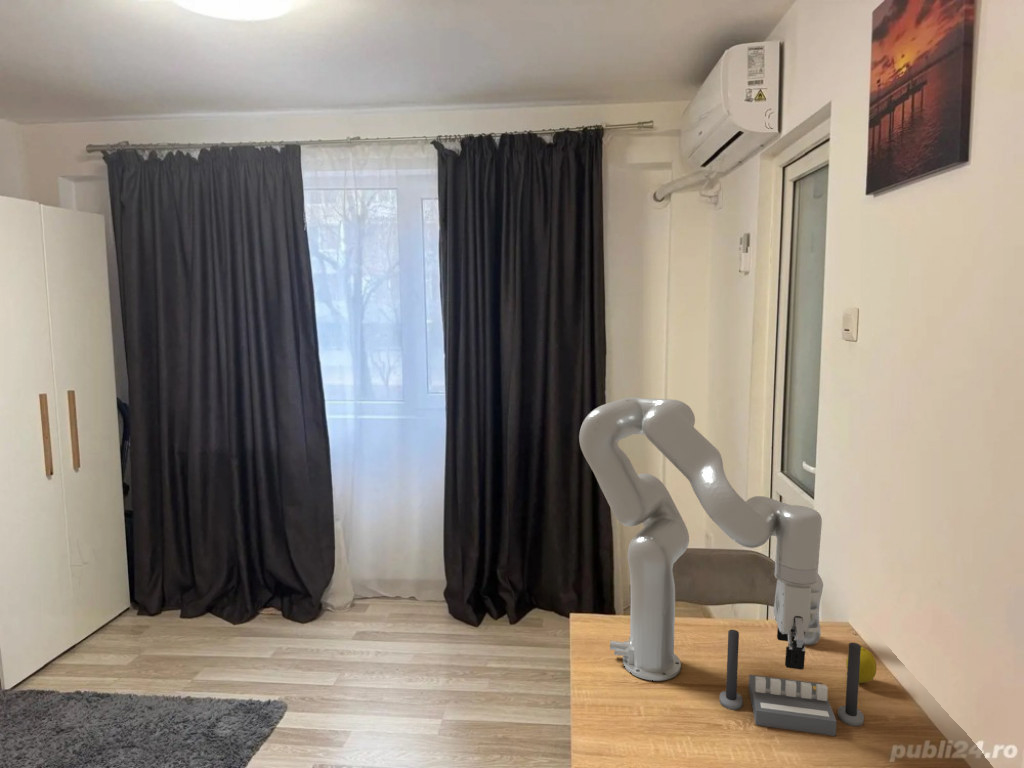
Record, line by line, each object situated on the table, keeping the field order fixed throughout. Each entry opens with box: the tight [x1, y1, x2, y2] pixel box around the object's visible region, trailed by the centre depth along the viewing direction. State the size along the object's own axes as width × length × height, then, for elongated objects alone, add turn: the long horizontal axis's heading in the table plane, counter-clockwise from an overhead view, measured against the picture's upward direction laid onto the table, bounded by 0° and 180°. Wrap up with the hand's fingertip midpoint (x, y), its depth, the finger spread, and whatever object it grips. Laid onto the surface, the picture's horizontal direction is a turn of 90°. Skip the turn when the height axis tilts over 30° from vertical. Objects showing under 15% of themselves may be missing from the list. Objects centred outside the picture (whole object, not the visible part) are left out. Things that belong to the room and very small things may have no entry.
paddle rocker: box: [755, 676, 829, 701], centre depth 126 cm, size 13×1×3 cm, turn 76°
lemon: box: [846, 646, 877, 684], centre depth 135 cm, size 6×6×8 cm
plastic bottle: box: [794, 573, 824, 646], centre depth 150 cm, size 6×7×20 cm
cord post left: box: [719, 629, 744, 711], centre depth 128 cm, size 4×4×15 cm
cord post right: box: [837, 642, 865, 727], centre depth 123 cm, size 4×4×15 cm
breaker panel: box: [748, 674, 837, 737], centre depth 127 cm, size 14×12×3 cm
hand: (789, 653), depth 125 cm, fingers open, 9 cm apart
